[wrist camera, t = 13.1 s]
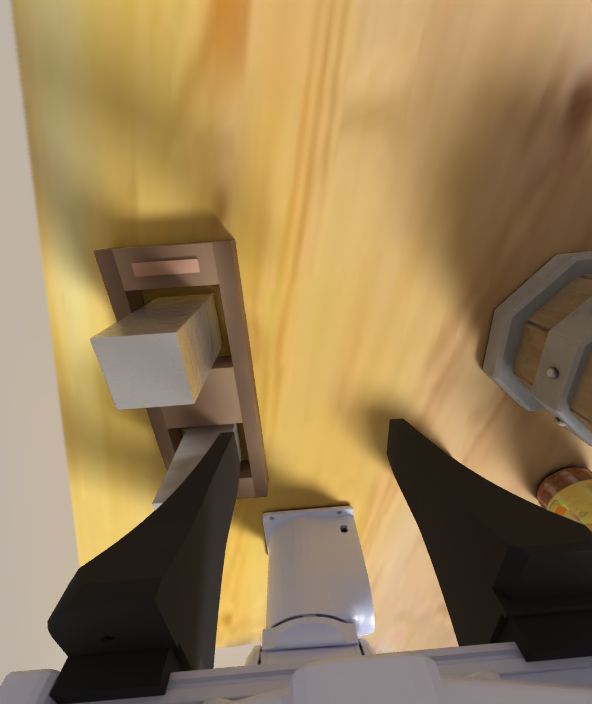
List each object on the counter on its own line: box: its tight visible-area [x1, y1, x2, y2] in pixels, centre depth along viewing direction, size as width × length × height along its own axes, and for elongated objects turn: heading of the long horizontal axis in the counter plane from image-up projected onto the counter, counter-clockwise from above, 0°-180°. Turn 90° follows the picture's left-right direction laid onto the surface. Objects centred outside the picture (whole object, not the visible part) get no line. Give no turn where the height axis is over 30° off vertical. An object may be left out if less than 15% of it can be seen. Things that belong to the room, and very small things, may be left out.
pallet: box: [94, 240, 268, 510], centre depth 20 cm, size 8×22×8 cm, turn 4°
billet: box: [90, 293, 223, 410], centre depth 18 cm, size 4×4×8 cm
